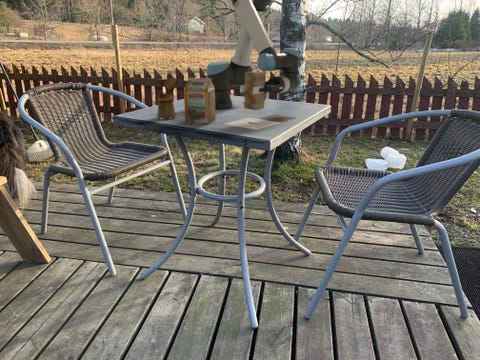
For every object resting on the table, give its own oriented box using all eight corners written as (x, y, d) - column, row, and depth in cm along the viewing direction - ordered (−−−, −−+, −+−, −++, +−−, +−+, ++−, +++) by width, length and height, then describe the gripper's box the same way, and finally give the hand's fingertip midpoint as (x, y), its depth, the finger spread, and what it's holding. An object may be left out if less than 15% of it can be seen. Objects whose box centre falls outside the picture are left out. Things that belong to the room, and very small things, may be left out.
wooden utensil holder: (183, 115, 181) (182, 76, 175) (170, 120, 169) (168, 79, 163) (167, 114, 184) (165, 76, 177) (153, 119, 172) (150, 79, 165)
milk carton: (215, 120, 170) (214, 77, 164) (208, 125, 161) (207, 79, 154) (193, 119, 172) (191, 76, 166) (185, 123, 163) (183, 79, 156)
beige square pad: (223, 124, 162) (223, 123, 162) (248, 117, 175) (248, 117, 175) (256, 130, 152) (256, 129, 152) (281, 123, 165) (281, 122, 165)
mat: (260, 118, 174) (260, 118, 174) (274, 114, 183) (274, 114, 183) (281, 122, 167) (281, 121, 167) (295, 118, 176) (295, 117, 176)
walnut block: (244, 108, 160) (245, 72, 155) (252, 106, 165) (253, 71, 159) (255, 110, 157) (256, 73, 151) (263, 108, 161) (265, 72, 156)
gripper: (295, 95, 167) (265, 101, 150) (261, 90, 178) (229, 96, 161) (296, 78, 164) (266, 82, 147) (261, 74, 175) (229, 78, 158)
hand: (247, 89), depth 154 cm, fingers closed on walnut block, 6 cm apart
